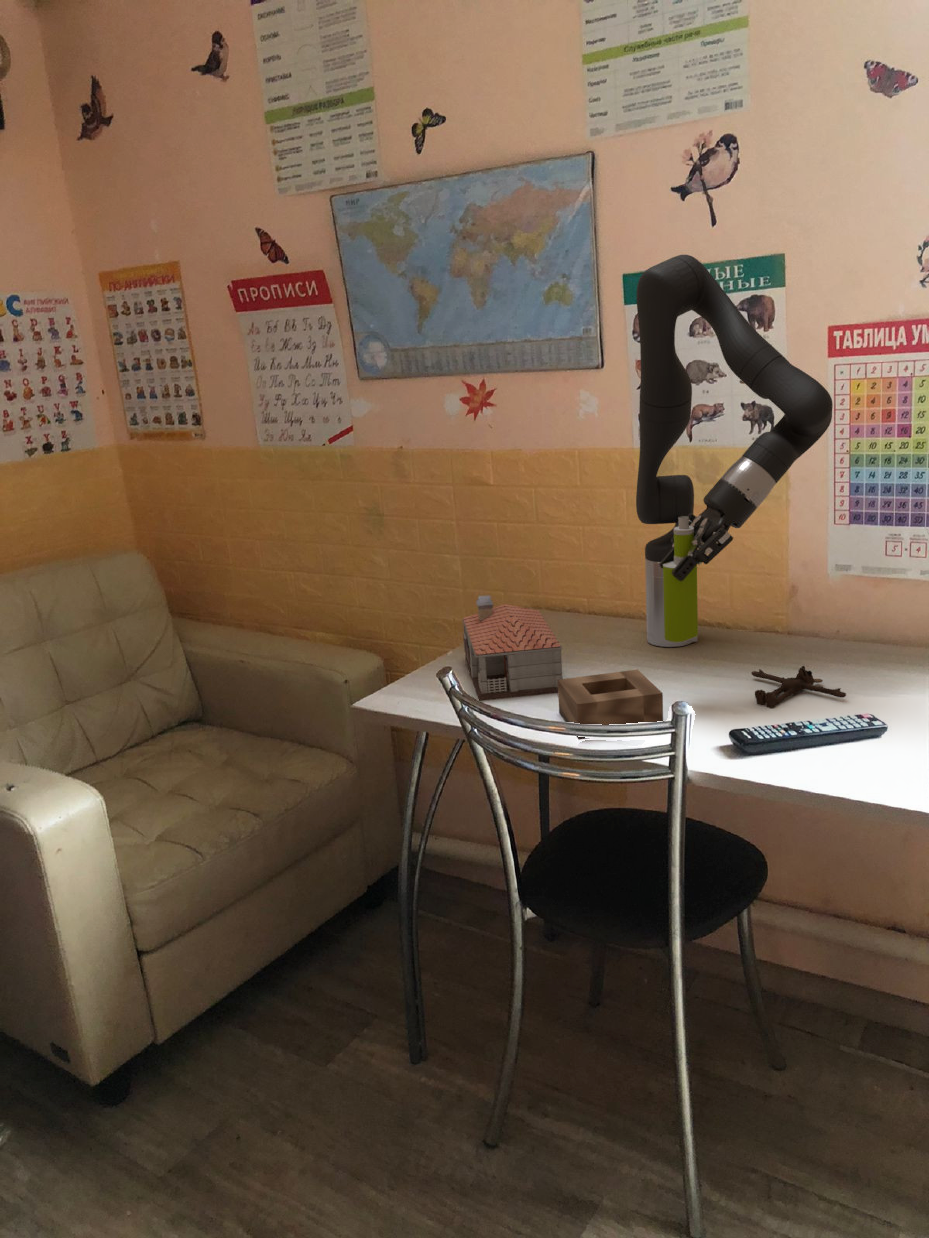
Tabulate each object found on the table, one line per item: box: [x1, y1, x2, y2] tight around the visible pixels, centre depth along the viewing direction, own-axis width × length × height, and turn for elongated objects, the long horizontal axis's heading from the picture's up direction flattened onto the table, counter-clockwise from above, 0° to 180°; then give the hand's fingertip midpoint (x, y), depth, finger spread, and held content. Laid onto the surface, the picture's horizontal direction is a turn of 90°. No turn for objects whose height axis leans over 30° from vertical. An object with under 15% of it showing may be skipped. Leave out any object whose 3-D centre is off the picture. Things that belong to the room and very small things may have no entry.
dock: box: [557, 669, 664, 741], centre depth 169 cm, size 14×12×6 cm
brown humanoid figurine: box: [751, 665, 847, 709], centre depth 175 cm, size 18×4×14 cm
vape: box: [663, 516, 699, 643], centre depth 167 cm, size 4×6×20 cm, turn 128°
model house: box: [462, 594, 563, 702], centre depth 193 cm, size 24×16×15 cm, turn 6°
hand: (669, 573), depth 167 cm, fingers closed on vape, 5 cm apart
